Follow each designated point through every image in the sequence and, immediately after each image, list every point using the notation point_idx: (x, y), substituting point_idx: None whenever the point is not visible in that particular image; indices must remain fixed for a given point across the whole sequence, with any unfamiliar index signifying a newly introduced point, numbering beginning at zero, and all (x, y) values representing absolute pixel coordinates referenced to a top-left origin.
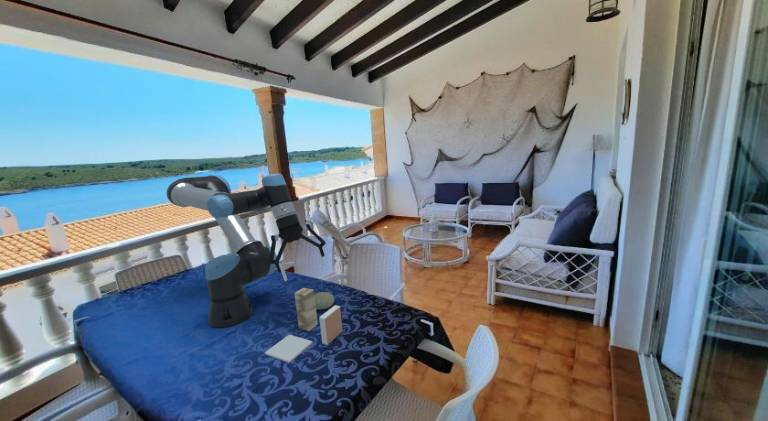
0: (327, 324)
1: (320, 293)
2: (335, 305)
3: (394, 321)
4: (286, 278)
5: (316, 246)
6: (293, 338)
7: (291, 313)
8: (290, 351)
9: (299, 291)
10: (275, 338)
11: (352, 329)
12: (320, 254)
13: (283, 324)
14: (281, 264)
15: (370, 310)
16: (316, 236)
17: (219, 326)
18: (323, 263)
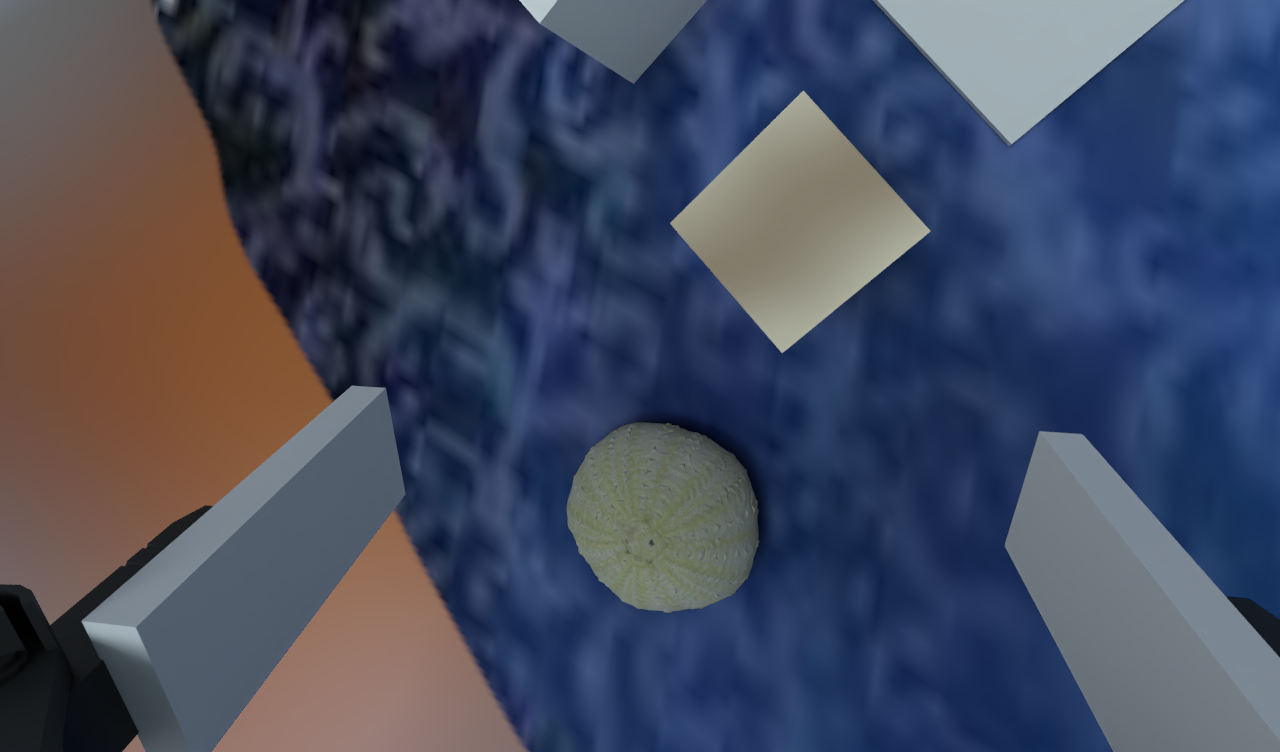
0: None
1: (649, 565)
2: (536, 16)
3: (296, 41)
4: (1042, 485)
5: (42, 711)
6: (983, 62)
7: (936, 517)
8: None
9: (854, 255)
10: (1139, 161)
11: (539, 48)
12: (207, 516)
13: (1033, 367)
14: (1238, 721)
15: (392, 249)
16: None
17: None
18: (332, 411)
